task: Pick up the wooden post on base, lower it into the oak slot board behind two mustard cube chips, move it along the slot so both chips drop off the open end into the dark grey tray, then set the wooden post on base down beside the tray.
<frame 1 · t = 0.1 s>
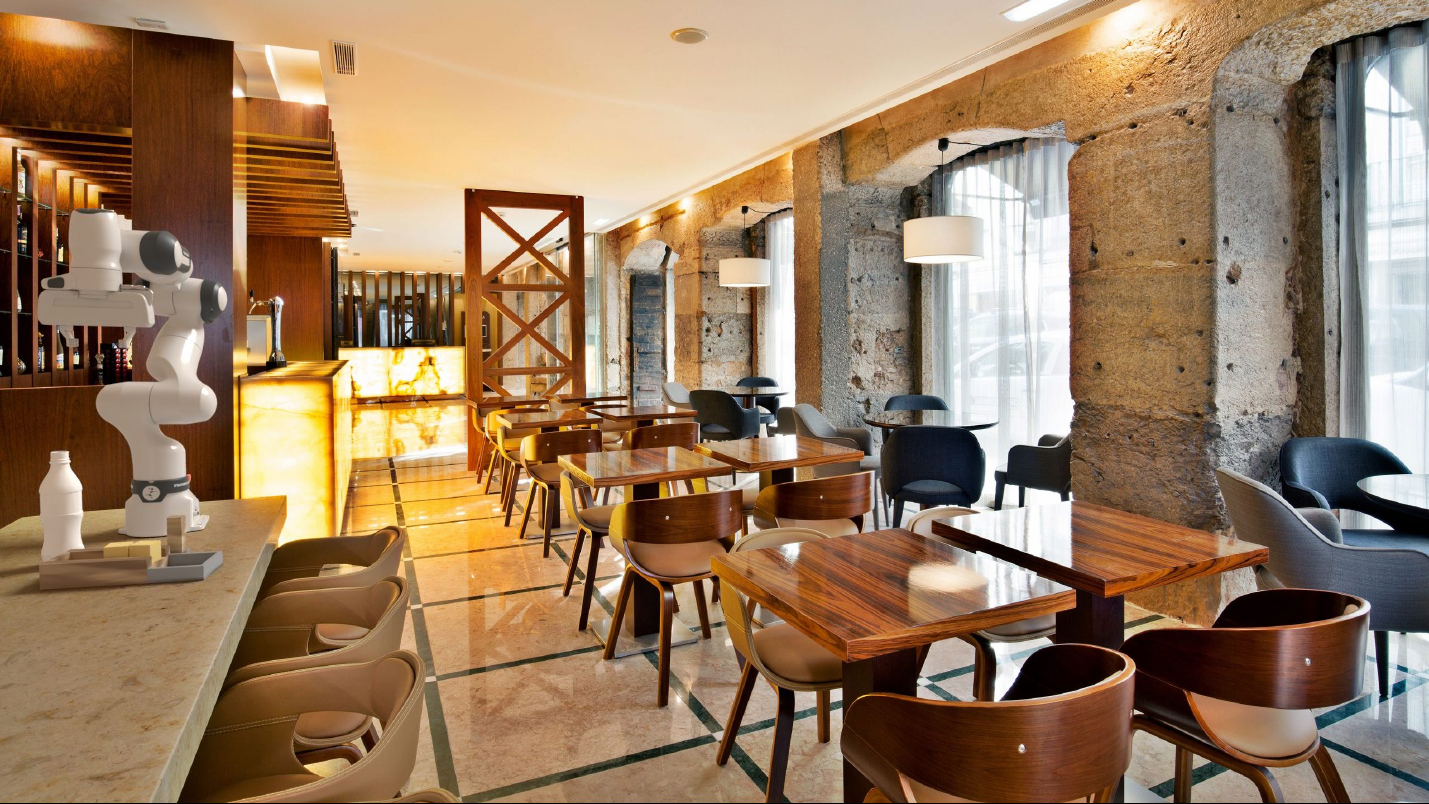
hand: (98, 347, 164), 48 cm above the bar counter, fingers open, 8 cm apart
wooden post on base: (177, 562, 169), on the bar counter
chip a: (145, 552, 159), point 5 cm above the bar counter, touching slot board
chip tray: (186, 573, 161), on the bar counter
water bottle: (63, 565, 165), on the bar counter
slot board: (108, 577, 157), on the bar counter
chip b: (118, 553, 157), point 5 cm above the bar counter, touching slot board
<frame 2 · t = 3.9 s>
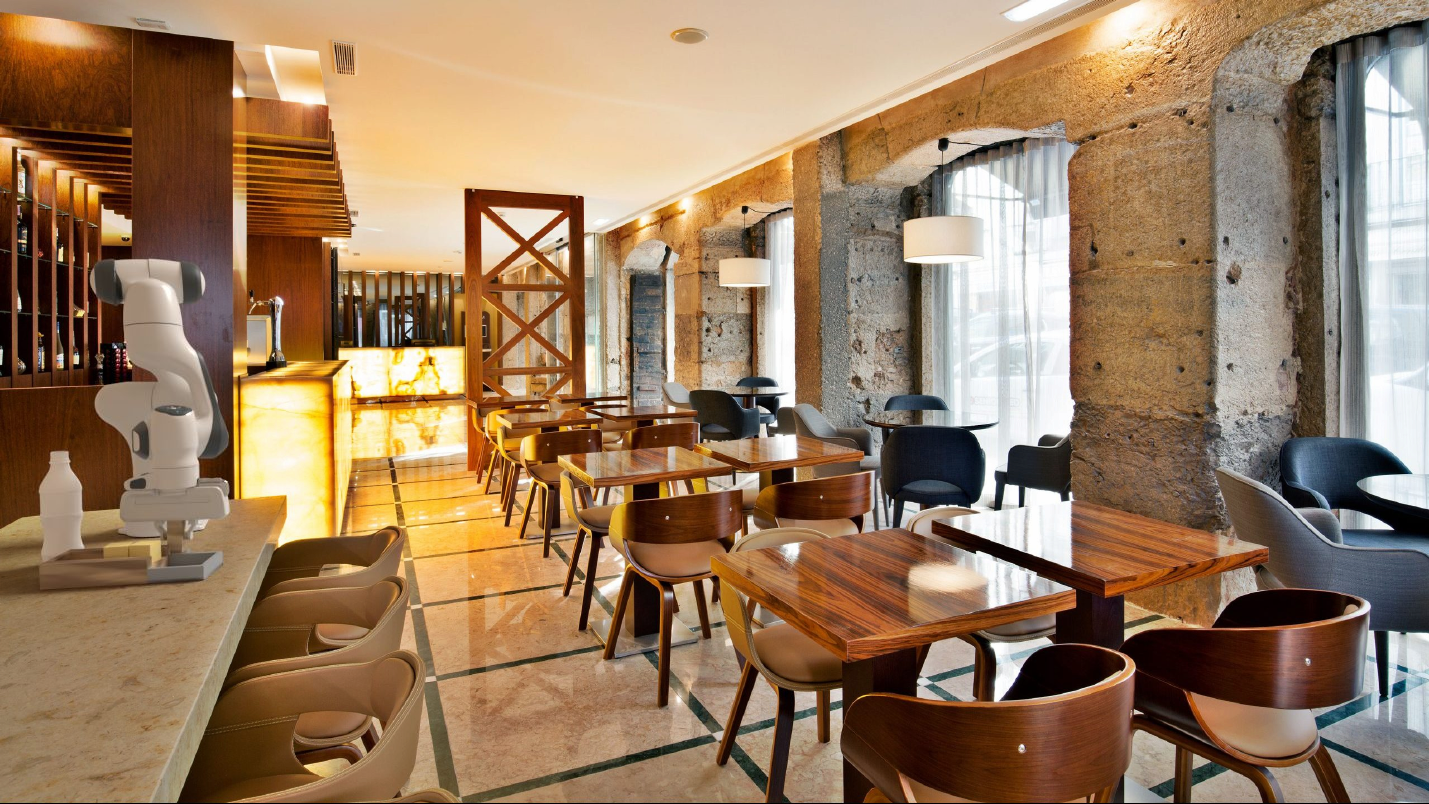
hand: (176, 539, 169), 5 cm above the bar counter, fingers closed on wooden post on base, 3 cm apart
wooden post on base: (177, 562, 169), on the bar counter, touching gripper
everything else where it was.
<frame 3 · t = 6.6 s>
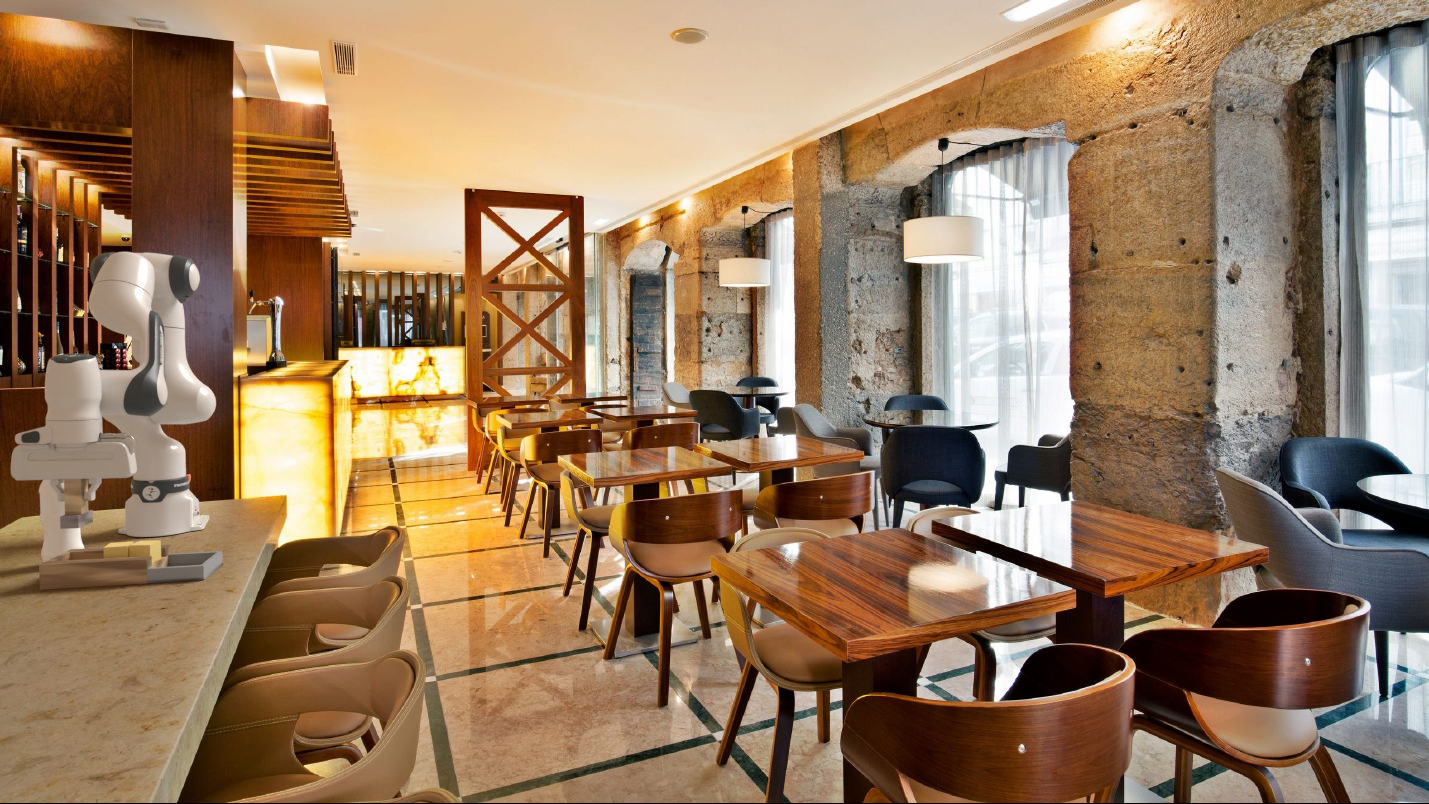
hand: (76, 500, 154), 17 cm above the bar counter, fingers closed on wooden post on base, 3 cm apart
wooden post on base: (77, 525, 154), point 11 cm above the bar counter, touching gripper
everything else where it was.
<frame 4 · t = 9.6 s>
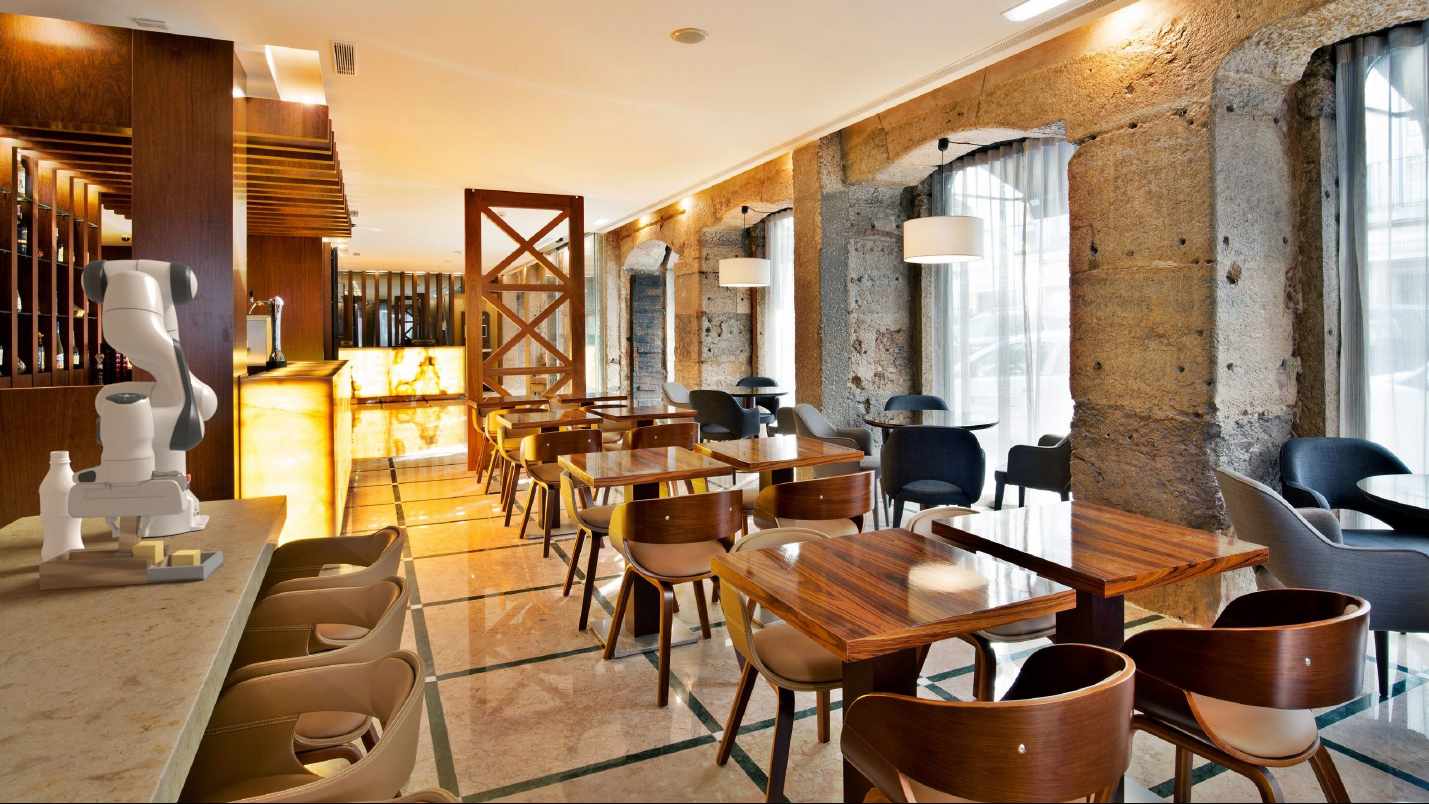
hand: (130, 537, 158), 8 cm above the bar counter, fingers closed on wooden post on base, 3 cm apart
wooden post on base: (128, 562, 158), point 3 cm above the bar counter, touching chip b, gripper
chip a: (186, 561, 161), point 3 cm above the bar counter, tilted 92°, touching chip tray
chip b: (148, 552, 158), point 5 cm above the bar counter, touching wooden post on base
everything else where it was.
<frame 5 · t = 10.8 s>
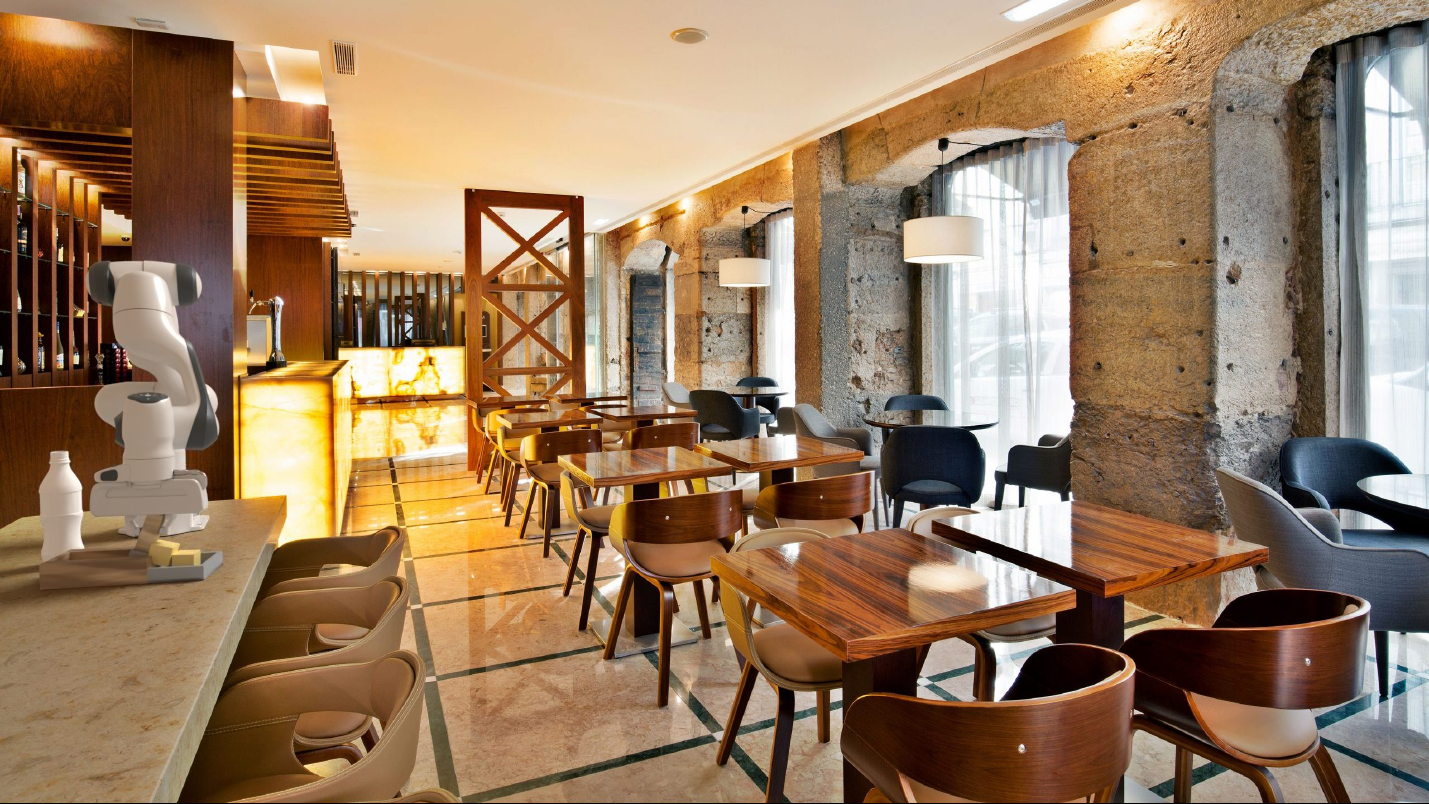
hand: (151, 535, 159), 9 cm above the bar counter, fingers closed on wooden post on base, 3 cm apart
wooden post on base: (140, 560, 158), point 3 cm above the bar counter, tilted 19°, touching chip b, gripper, slot board
chip a: (186, 561, 161), point 3 cm above the bar counter, tilted 92°, touching chip b, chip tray
chip b: (163, 552, 159), point 5 cm above the bar counter, tilted 16°, touching chip a, wooden post on base
everything else where it was.
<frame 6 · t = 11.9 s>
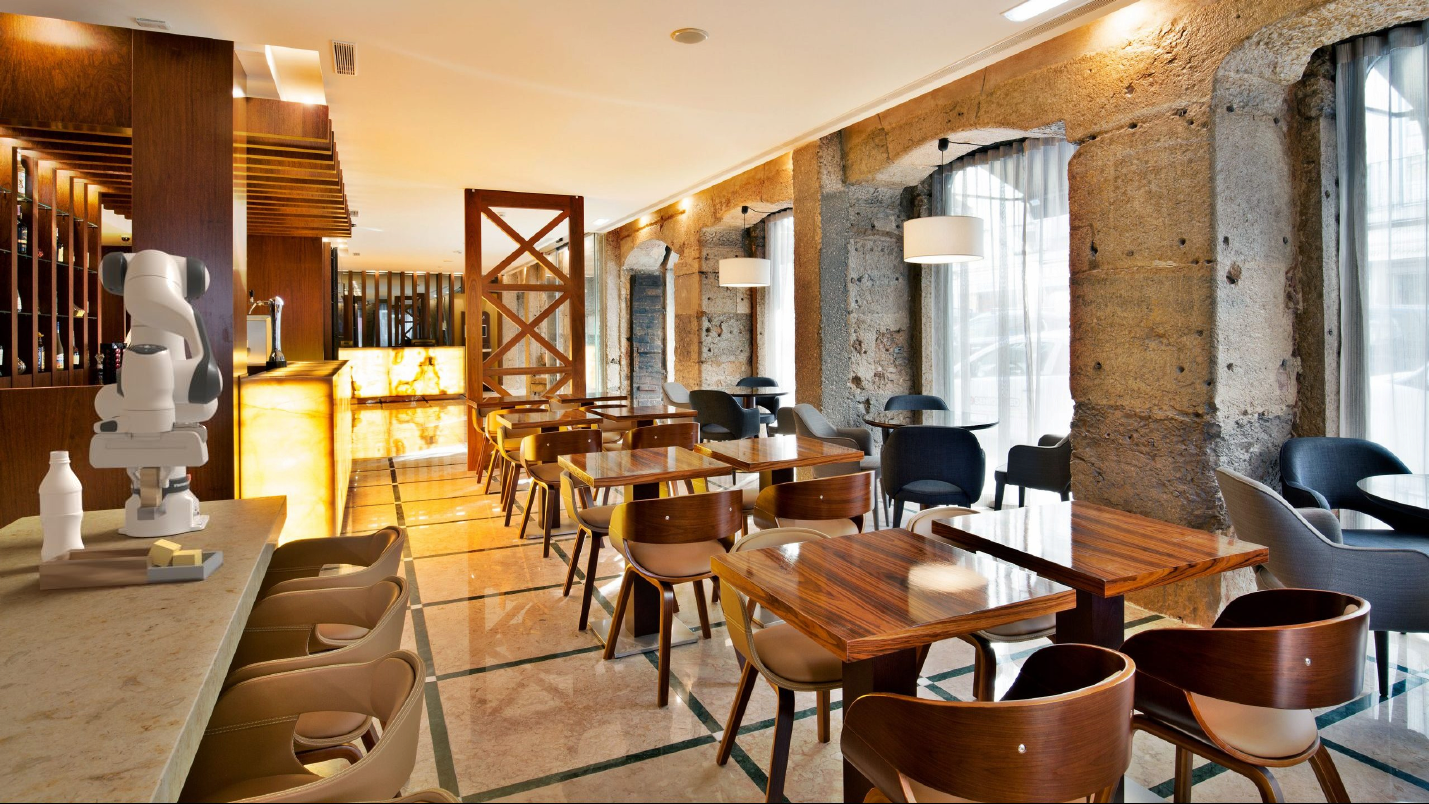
hand: (151, 487, 158), 19 cm above the bar counter, fingers closed on wooden post on base, 3 cm apart
wooden post on base: (151, 516, 159), point 12 cm above the bar counter, touching gripper
chip b: (163, 553, 159), point 5 cm above the bar counter, tilted 24°, touching chip a, slot board
everything else where it was.
when the fingers open (6 cm above the bar counter, at t = 15.4 s): wooden post on base stays where it is, on the bar counter.
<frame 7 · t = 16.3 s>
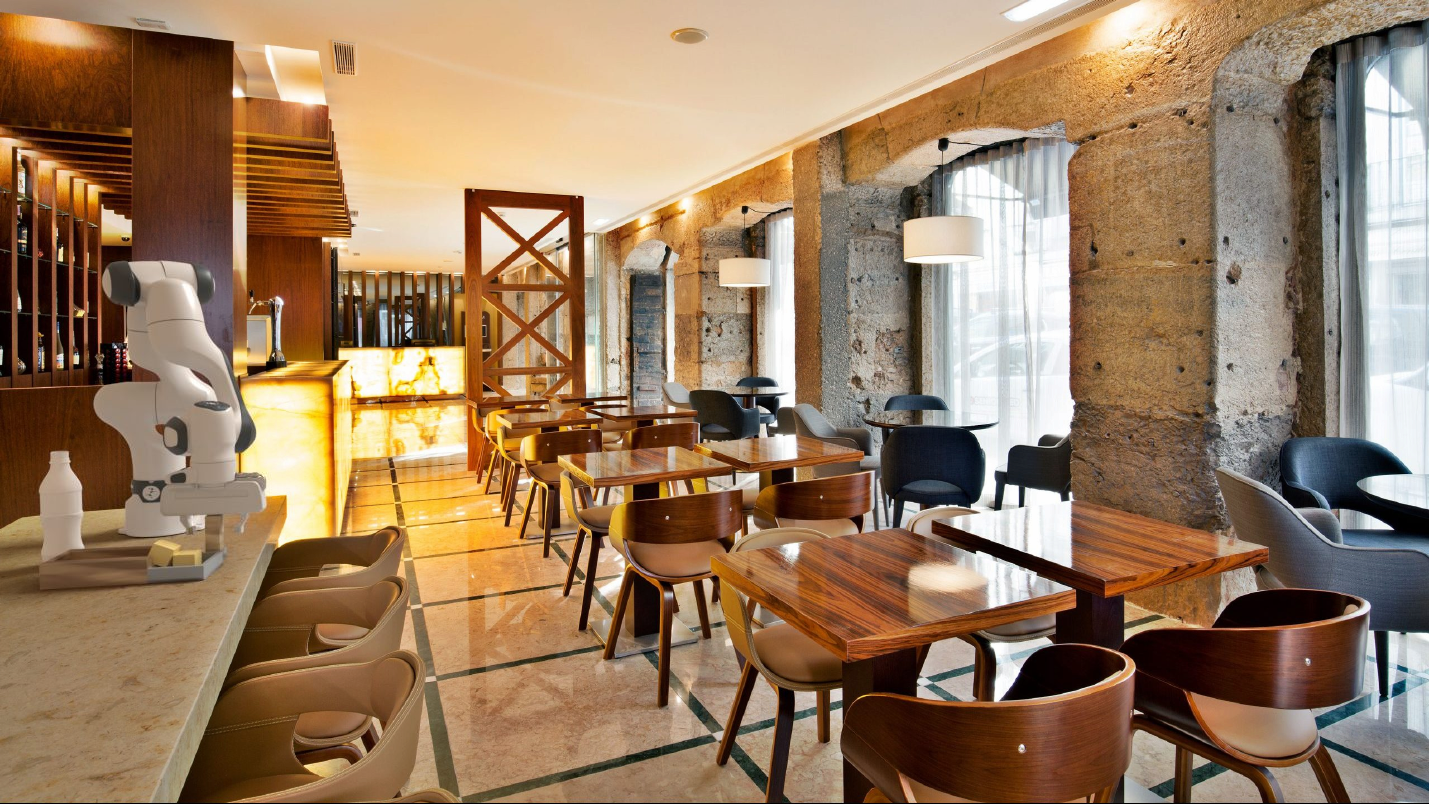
hand: (215, 533, 171), 6 cm above the bar counter, fingers open, 8 cm apart
wooden post on base: (215, 560, 171), on the bar counter
everything else where it was.
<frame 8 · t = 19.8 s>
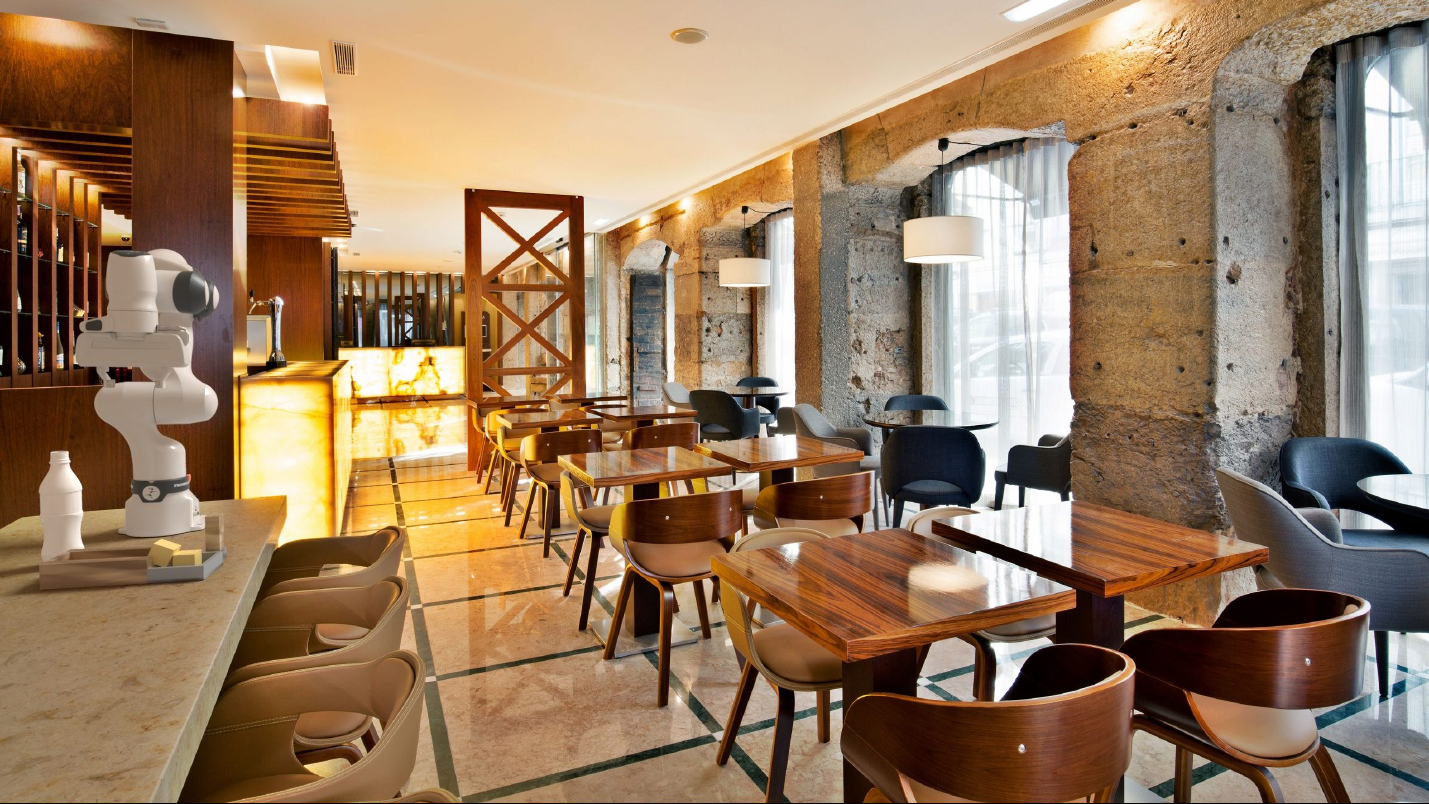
hand: (135, 388, 165), 39 cm above the bar counter, fingers open, 8 cm apart
nothing on the bar counter moved.
at the end: chip a inside the target area on the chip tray (0.5 cm from its centre), point 2.5 cm above the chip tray's base; chip b inside the target area on the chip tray (4.5 cm from its centre), point 4.7 cm above the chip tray's base; the gripper is holding nothing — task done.
